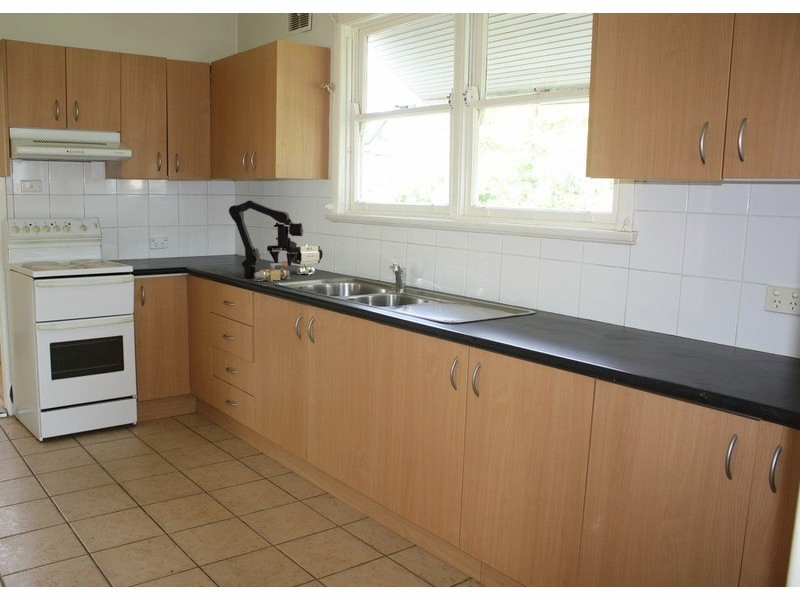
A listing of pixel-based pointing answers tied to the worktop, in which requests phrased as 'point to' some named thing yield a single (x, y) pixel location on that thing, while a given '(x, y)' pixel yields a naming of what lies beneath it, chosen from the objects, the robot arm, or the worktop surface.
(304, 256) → the ball valve
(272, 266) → the lever
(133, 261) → the worktop surface
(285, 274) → the valve body
